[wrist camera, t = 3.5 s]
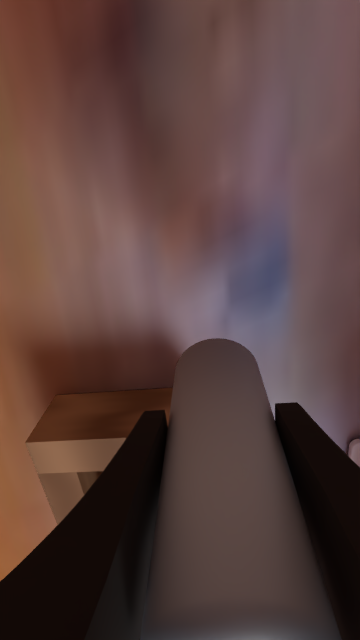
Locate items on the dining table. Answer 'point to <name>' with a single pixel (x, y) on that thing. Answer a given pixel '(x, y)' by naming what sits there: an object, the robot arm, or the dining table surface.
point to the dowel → (230, 515)
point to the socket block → (85, 439)
